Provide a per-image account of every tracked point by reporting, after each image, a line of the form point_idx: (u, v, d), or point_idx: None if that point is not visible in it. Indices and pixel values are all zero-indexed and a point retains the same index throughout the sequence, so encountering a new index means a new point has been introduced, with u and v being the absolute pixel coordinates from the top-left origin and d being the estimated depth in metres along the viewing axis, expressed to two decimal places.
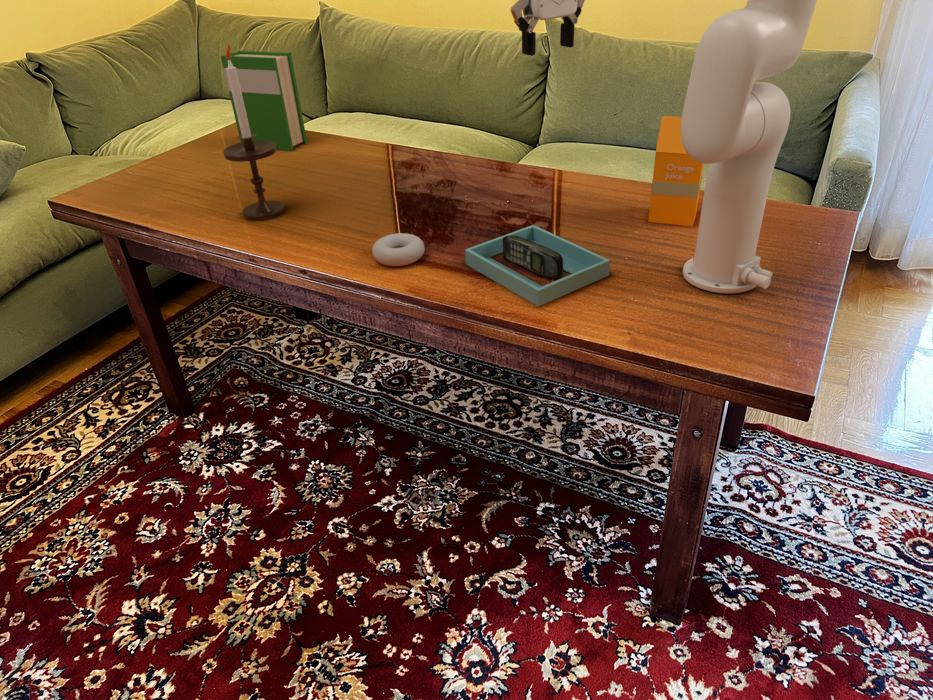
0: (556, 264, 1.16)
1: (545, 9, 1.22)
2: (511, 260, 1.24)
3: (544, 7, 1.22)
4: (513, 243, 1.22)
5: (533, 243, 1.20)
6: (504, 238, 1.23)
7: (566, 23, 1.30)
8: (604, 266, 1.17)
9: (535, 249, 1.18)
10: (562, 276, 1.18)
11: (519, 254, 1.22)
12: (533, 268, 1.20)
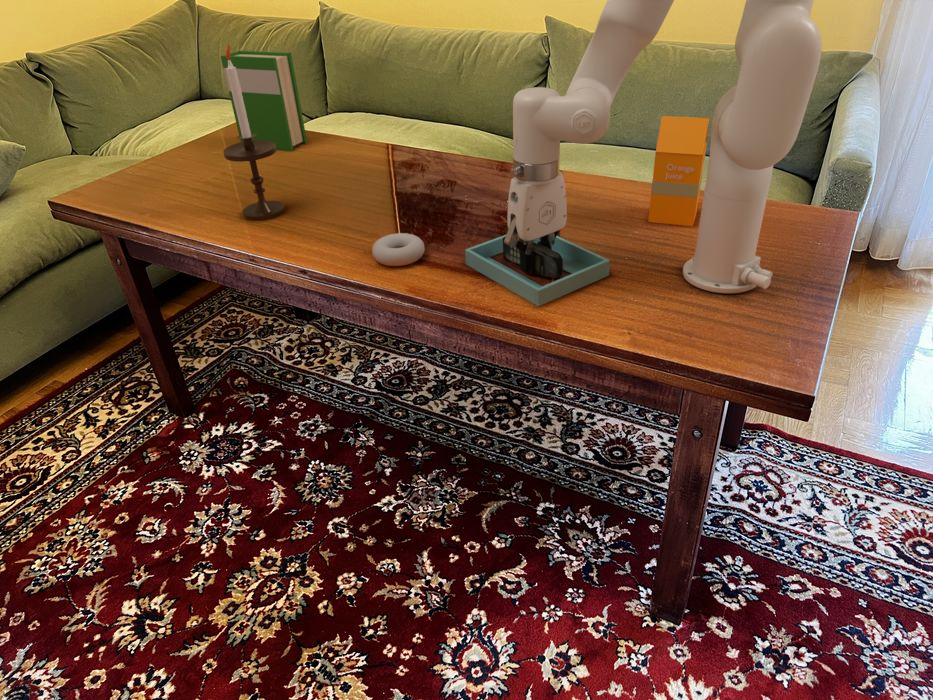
0: (556, 264, 1.16)
1: (532, 231, 1.13)
2: (511, 260, 1.24)
3: (531, 230, 1.13)
4: None
5: (533, 243, 1.20)
6: (504, 238, 1.23)
7: (543, 244, 1.20)
8: (604, 266, 1.17)
9: (535, 249, 1.18)
10: (562, 276, 1.18)
11: (519, 254, 1.22)
12: None
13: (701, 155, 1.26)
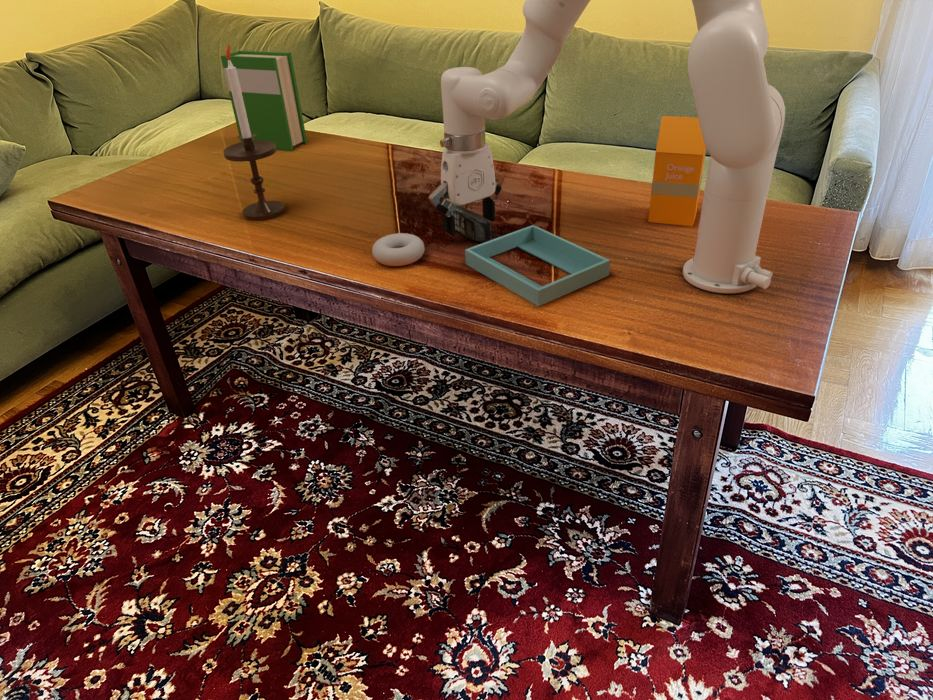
0: (483, 229, 1.29)
1: (462, 197, 1.27)
2: None
3: (461, 195, 1.27)
4: None
5: (467, 210, 1.34)
6: None
7: (487, 200, 1.34)
8: (604, 266, 1.17)
9: (467, 216, 1.32)
10: None
11: (456, 221, 1.36)
12: (467, 233, 1.34)
13: (701, 155, 1.26)
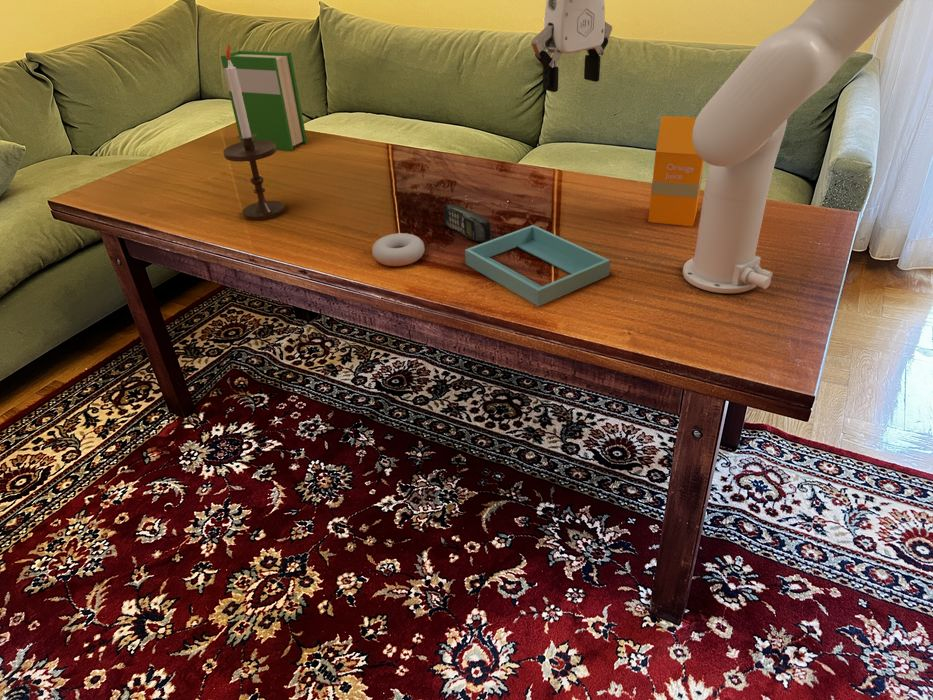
0: (483, 229, 1.29)
1: (570, 42, 1.10)
2: (450, 226, 1.38)
3: (569, 40, 1.09)
4: (451, 210, 1.36)
5: (467, 210, 1.34)
6: (444, 206, 1.37)
7: (591, 55, 1.17)
8: (604, 266, 1.17)
9: (467, 216, 1.32)
10: None
11: (456, 221, 1.36)
12: (467, 233, 1.34)
13: None
